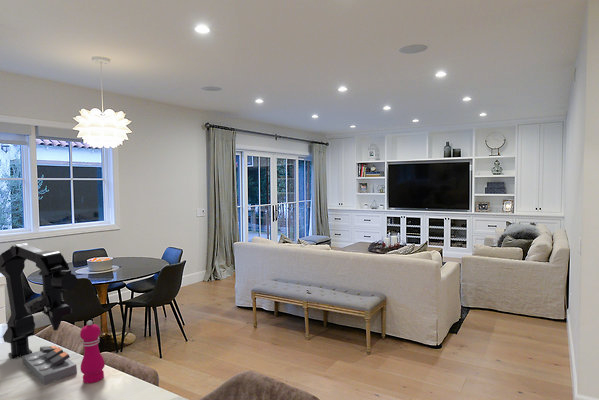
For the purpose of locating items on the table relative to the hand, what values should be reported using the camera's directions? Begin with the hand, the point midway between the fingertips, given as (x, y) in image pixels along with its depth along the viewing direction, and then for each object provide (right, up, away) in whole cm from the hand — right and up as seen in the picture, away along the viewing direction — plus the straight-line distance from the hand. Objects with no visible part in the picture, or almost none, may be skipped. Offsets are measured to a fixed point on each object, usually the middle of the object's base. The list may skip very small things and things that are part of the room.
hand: (55, 330), depth 145 cm
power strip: (-2, -13, -1) cm, 13 cm away
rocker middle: (0, -9, 0) cm, 9 cm away
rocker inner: (-5, -9, +4) cm, 11 cm away
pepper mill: (+19, -13, -10) cm, 25 cm away
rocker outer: (+4, -9, -4) cm, 11 cm away
